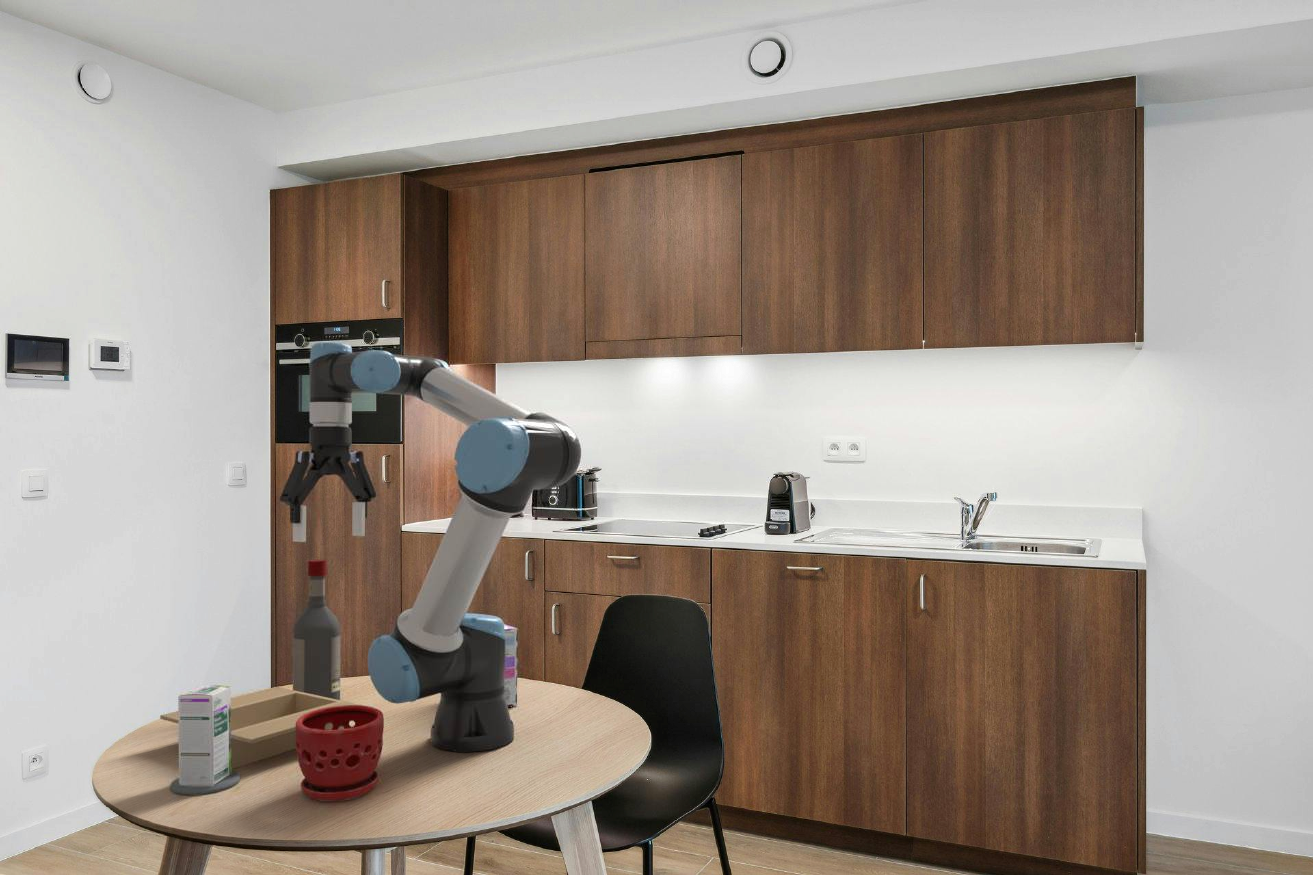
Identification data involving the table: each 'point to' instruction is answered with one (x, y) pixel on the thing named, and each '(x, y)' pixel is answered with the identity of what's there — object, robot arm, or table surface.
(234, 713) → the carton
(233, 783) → the coaster
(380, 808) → the table surface
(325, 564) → the liquor
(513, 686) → the candy box
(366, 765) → the plant pot
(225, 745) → the syrup box
